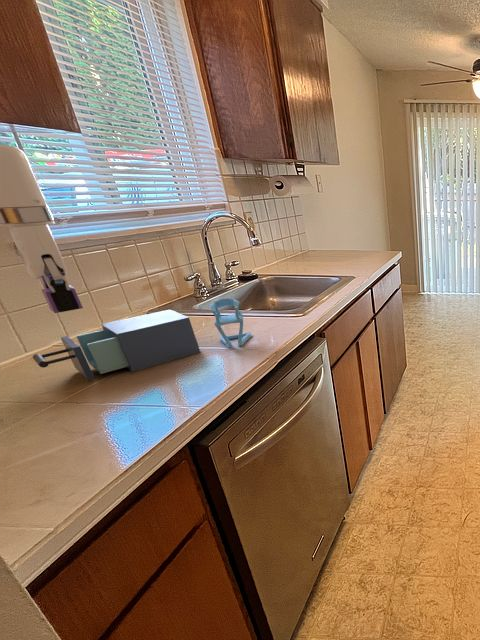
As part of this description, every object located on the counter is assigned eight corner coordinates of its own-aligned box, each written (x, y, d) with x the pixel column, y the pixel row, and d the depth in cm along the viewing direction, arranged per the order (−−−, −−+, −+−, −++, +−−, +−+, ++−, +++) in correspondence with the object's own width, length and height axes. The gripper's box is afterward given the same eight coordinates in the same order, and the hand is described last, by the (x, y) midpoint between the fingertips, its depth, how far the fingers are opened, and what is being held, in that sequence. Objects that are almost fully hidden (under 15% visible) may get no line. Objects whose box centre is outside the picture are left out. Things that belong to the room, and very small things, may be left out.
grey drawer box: (132, 371, 95) (116, 334, 91) (116, 359, 102) (100, 324, 98) (200, 351, 105) (188, 317, 101) (181, 342, 112) (170, 309, 108)
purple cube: (54, 313, 82) (44, 292, 80) (50, 309, 84) (40, 289, 82) (83, 308, 85) (74, 287, 83) (78, 304, 87) (69, 285, 85)
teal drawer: (52, 390, 85) (35, 356, 82) (41, 376, 91) (25, 345, 88) (159, 359, 99) (147, 330, 96) (143, 349, 105) (132, 321, 102)
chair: (219, 350, 106) (205, 306, 101) (220, 340, 113) (207, 299, 108) (251, 344, 110) (239, 302, 105) (251, 335, 116) (240, 295, 111)
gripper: (-10, 216, 79) (34, 306, 86) (2, 220, 69) (50, 320, 77) (43, 214, 84) (80, 298, 92) (60, 217, 75) (100, 310, 82)
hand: (66, 307), depth 84 cm, fingers closed on purple cube, 4 cm apart
